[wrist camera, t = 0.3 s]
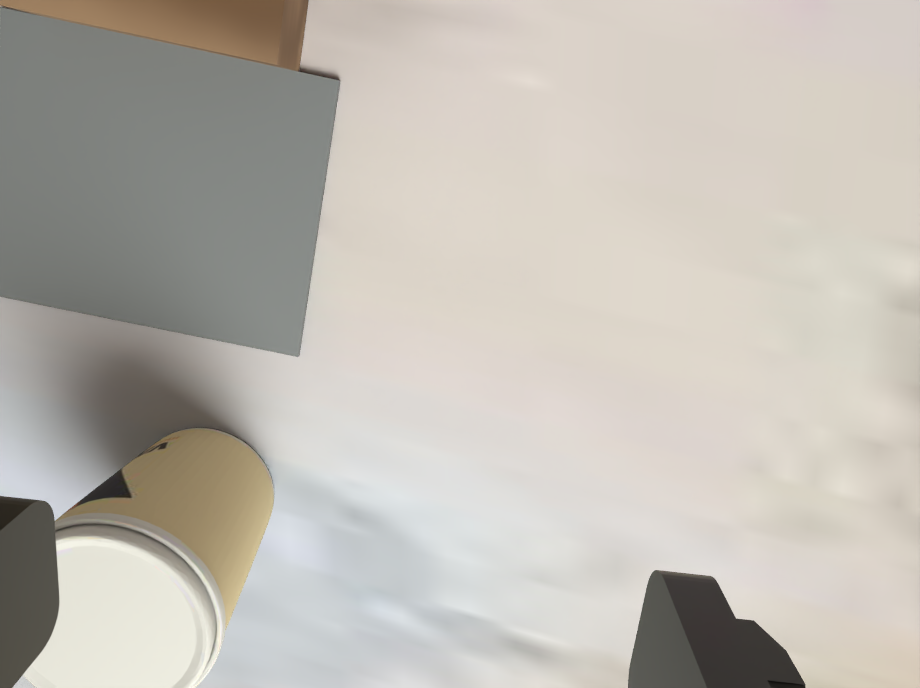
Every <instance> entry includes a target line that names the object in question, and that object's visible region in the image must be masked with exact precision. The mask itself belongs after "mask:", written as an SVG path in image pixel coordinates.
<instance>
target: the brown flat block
mask: <svg viewBox="0 0 920 688" xmlns="http://www.w3.org/2000/svg"><path fill="white" fill-rule="evenodd" d="M0 5H1V6H5V7H9V8H13V9H17V10H20V11H24V12H28V13H32V14H36V15H40V16H44V17H48V18H53V19H57V20H62V21H67V22H71V23H76V24H81V25H85V26H90V27H95V28H99V29H104V30H108V31H113V32H118V33H122V34H127V35H132V36H136V37H141V38H145V39H150V40H155V41H159V42H164V43H169V44H173V45H178V46H182V47H187V48H192V49H196V50H201V51H206V52H210V53H215V54H219V55H224V56H229V57H233V58H238V59H243V60H247V61H252V62H256V63H261V64H266V65H270V66H275V67H280V68H284V69H289V70H293V71H298V72H299V68H300V60H301V53H302V45H303V38H304V30H305V23H306V15H307V8H308V0H0Z"/></svg>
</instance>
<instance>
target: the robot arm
mask: <svg viewBox="0 0 920 688" xmlns="http://www.w3.org/2000/svg"><path fill="white" fill-rule="evenodd" d="M58 612H59V583H58V568H57V552H56V537H55V522H54V514H53V510H52V508H51V506H50V505H49V504H48V503H47V502H45V501H40V500H31V499H22V498H13V497H4V496H0V688H12V687H13V686H14V685H15V684H16V682H17V681H18V680H19V679H20V677H21V676H22V675H23V674H24V673H25V671H26V670H27V669H28V668H29V667H30V665H31V664H32V663H33V662H34V660H35V659H36V658H37V657H38V656H39V654H40V653H41V652H42V651H43V649H44V648H45V646H46V644H47V643H48V641H49V639H50V637H51V635H52V632H53V630H54V627H55V624H56V621H57V617H58ZM628 688H805V683H804V681H803V679H802V678H801V676H800V674H799V672H798V671H797V669H796V667H795V665H794V664H793V662H792V660H791V658H790V657H789V655H788V653H787V651H786V650H785V649H784V648H783V647H782V646H780V645H779V644H778V643H777V642H776V641H775V640H774V639H773V638H772V637H771V636H770V635H769V634H768V633H766V632H765V631H764V630H763V629H762V628H761V627H760V626H759V625H758V624H757V623H756V622H755V621H752V620H743V619H736V618H735V616H734V614H733V612H732V610H731V608H730V606H729V604H728V602H727V600H726V598H725V596H724V594H723V593H722V591H721V589H720V587H719V585H718V583H717V581H716V580H715V579H714V578H713V577H711V576H704V575H695V574H686V573H677V572H668V571H659V570H655V571H654V572H653V573H652V574H651V576H650V578H649V581H648V585H647V589H646V594H645V598H644V603H643V607H642V612H641V617H640V621H639V626H638V631H637V635H636V640H635V644H634V649H633V654H632V658H631V663H630V669H629V679H628Z"/></svg>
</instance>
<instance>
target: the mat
mask: <svg viewBox="0 0 920 688" xmlns="http://www.w3.org/2000/svg"><path fill="white" fill-rule="evenodd" d="M339 87H340V80H335V79H330V78H326V77H321V76H317V75H312V74H307V73H303V72H298V71H293V70H289V69H284V68H280V67H275V66H270V65H266V64H261V63H256V62H252V61H247V60H243V59H238V58H233V57H229V56H224V55H219V54H215V53H210V52H206V51H201V50H196V49H192V48H187V47H182V46H178V45H173V44H169V43H164V42H159V41H155V40H150V39H145V38H141V37H136V36H132V35H127V34H122V33H118V32H113V31H108V30H104V29H99V28H95V27H90V26H85V25H81V24H76V23H71V22H67V21H62V20H57V19H53V18H48V17H44V16H39V15H34V14H30V13H25V12H20V11H16V10H11V9H7V8H2V7H0V297H5V298H10V299H15V300H20V301H25V302H30V303H34V304H39V305H44V306H49V307H54V308H59V309H64V310H69V311H74V312H79V313H84V314H89V315H94V316H99V317H104V318H109V319H114V320H118V321H123V322H128V323H133V324H138V325H143V326H148V327H153V328H158V329H163V330H168V331H173V332H178V333H183V334H188V335H193V336H198V337H202V338H207V339H212V340H217V341H222V342H227V343H232V344H237V345H242V346H247V347H252V348H257V349H262V350H267V351H272V352H277V353H282V354H286V355H291V356H296V357H298V356H299V355H300V348H301V341H302V334H303V328H304V321H305V314H306V308H307V301H308V294H309V288H310V281H311V274H312V268H313V261H314V254H315V247H316V241H317V234H318V227H319V221H320V214H321V207H322V201H323V194H324V187H325V181H326V174H327V167H328V160H329V154H330V147H331V140H332V134H333V127H334V120H335V114H336V107H337V100H338V93H339Z"/></svg>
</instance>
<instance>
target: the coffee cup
mask: <svg viewBox="0 0 920 688" xmlns="http://www.w3.org/2000/svg"><path fill="white" fill-rule="evenodd" d="M273 503H274V488H273V483H272V478H271V476H270V473H269V471H268V469H267V467H266V465H265V463H264V462H263V460H262V459H261V458H260V457H259V455H258V454H257V453H256V452H255V451H254V450H253V449H252V448H251V447H250V446H248V445H247V444H246V443H245V442H243V441H242V440H240V439H238V438H236V437H235V436H233V435H230V434H228V433H226V432H222V431H219V430H215V429H208V428H190V429H184V430H180V431H177V432H174V433H172V434H170V435H168V436H166V437H164V438H162V439H161V440H160V441H158V442H157V443H155V444H154V445H152V446H151V447H149V448H148V449H147V450H145V451H144V452H143V453H141V454H140V455H139V456H137V457H136V458H135V459H134V460H132V461H131V462H130V463H128V464H127V465H126V466H124V467H123V468H122V469H121V470H119V471H118V472H117V473H115V474H114V475H113V476H111V477H110V478H109V479H107V480H106V481H105V482H104V483H102V484H101V485H100V486H98V487H97V488H96V489H95V490H93V491H92V492H91V493H89V494H88V495H87V496H86V497H84V498H83V499H82V500H81V501H79V502H78V503H77V504H75V505H74V506H73V507H72V508H70V509H69V510H68V511H67V512H65V513H64V514H63V515H62V516H61V517H59V518H58V519H57V520H56V521H54V522H55V537H56V552H57V568H58V583H59V612H58V617H57V621H56V624H55V627H54V630H53V632H52V635H51V637H50V639H49V641H48V643H47V644H46V646H45V648H44V649H43V651H42V652H41V653H40V654H39V656H38V657H37V658H36V659H35V660H34V662H33V663H32V664H31V665H30V667H29V668H28V669H27V670H26V671H25V673H24V674H23V676H24V677H25V678H26V679H27V680H28V681H29V682H30V683H31V684H32V685H33V686H35V687H36V688H195V687H196V686H197V685H198V684H199V683H200V682H201V681H202V680H203V679H204V678H205V676H206V675H207V674H208V672H209V671H210V670H211V668H212V666H213V665H214V663H215V661H216V659H217V657H218V655H219V652H220V650H221V647H222V643H223V640H224V635H225V630H226V628H227V625H228V623H229V621H230V618H231V616H232V613H233V611H234V608H235V606H236V603H237V601H238V598H239V596H240V593H241V591H242V588H243V586H244V583H245V581H246V578H247V576H248V573H249V571H250V568H251V566H252V563H253V561H254V558H255V556H256V553H257V550H258V548H259V545H260V543H261V540H262V538H263V535H264V533H265V530H266V527H267V525H268V522H269V519H270V516H271V513H272V509H273Z"/></svg>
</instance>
